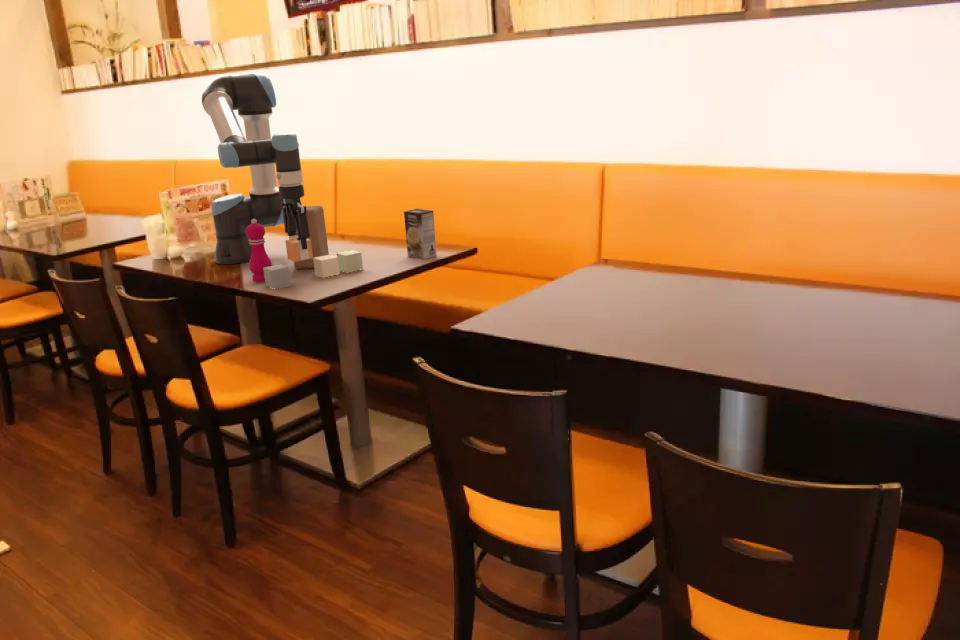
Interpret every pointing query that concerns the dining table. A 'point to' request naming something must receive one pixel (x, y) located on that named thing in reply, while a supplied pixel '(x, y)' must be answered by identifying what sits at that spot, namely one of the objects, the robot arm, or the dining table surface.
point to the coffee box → (420, 233)
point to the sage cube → (350, 261)
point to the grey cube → (277, 276)
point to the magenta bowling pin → (257, 251)
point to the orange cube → (297, 250)
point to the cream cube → (326, 266)
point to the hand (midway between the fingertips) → (300, 257)
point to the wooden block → (315, 236)
